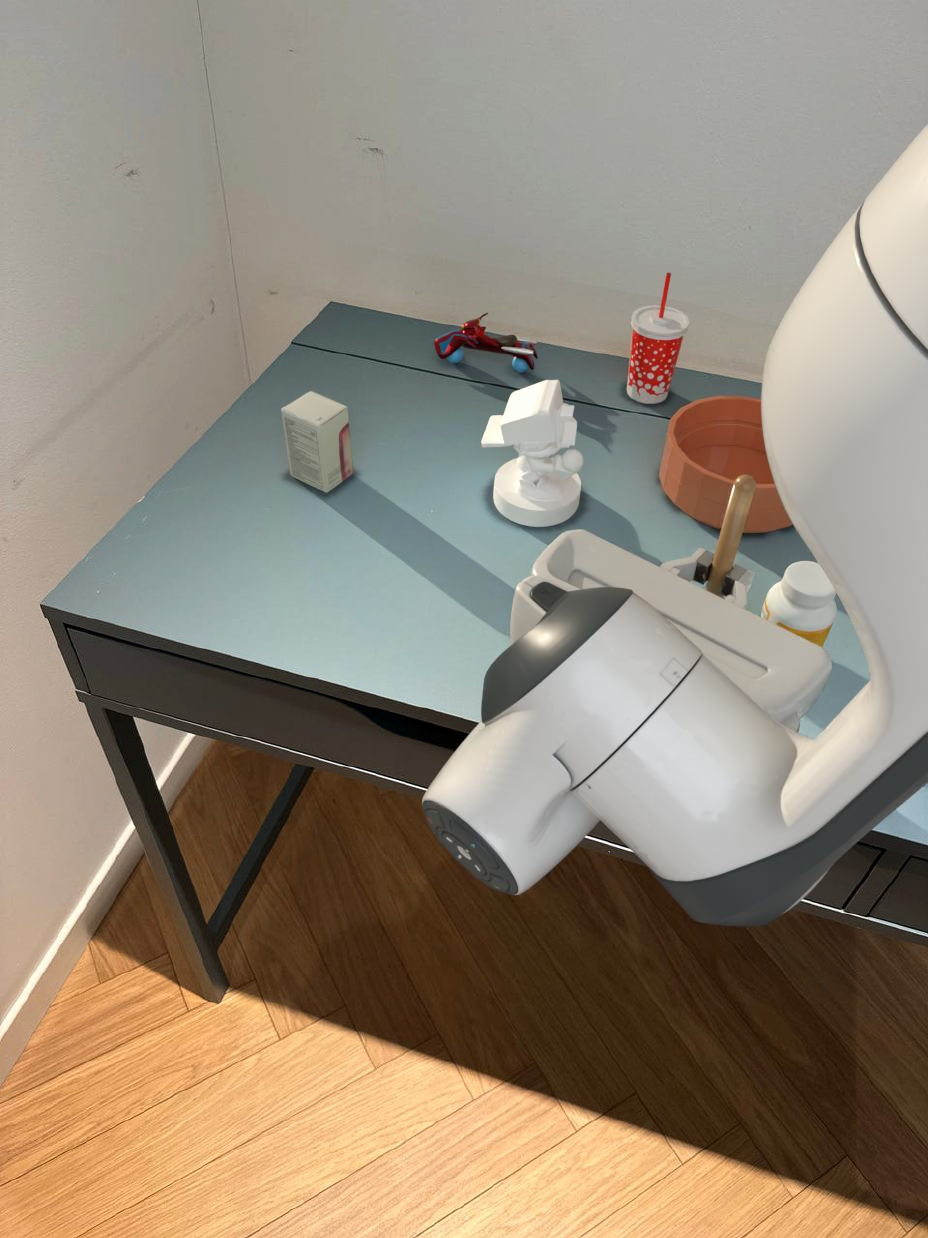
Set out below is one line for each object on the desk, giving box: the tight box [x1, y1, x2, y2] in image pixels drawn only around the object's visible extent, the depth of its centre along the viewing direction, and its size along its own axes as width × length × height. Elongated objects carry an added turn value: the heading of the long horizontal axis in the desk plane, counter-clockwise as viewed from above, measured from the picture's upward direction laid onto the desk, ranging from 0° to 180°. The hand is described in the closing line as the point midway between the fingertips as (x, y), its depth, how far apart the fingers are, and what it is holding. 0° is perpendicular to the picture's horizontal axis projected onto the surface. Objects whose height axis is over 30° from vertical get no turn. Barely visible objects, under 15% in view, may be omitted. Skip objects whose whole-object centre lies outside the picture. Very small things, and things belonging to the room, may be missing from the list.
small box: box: [280, 390, 354, 494], centre depth 93 cm, size 5×4×8 cm
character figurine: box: [480, 379, 584, 528], centre depth 90 cm, size 9×10×12 cm
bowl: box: [658, 395, 794, 534], centre depth 94 cm, size 15×15×6 cm
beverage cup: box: [626, 272, 690, 405], centre depth 103 cm, size 6×6×14 cm
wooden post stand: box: [704, 475, 756, 599], centre depth 68 cm, size 5×5×18 cm
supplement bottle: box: [758, 560, 838, 648], centre depth 76 cm, size 5×5×10 cm
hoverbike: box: [433, 312, 539, 374], centre depth 110 cm, size 5×12×6 cm, turn 77°
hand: (725, 566), depth 68 cm, fingers closed on wooden post stand
